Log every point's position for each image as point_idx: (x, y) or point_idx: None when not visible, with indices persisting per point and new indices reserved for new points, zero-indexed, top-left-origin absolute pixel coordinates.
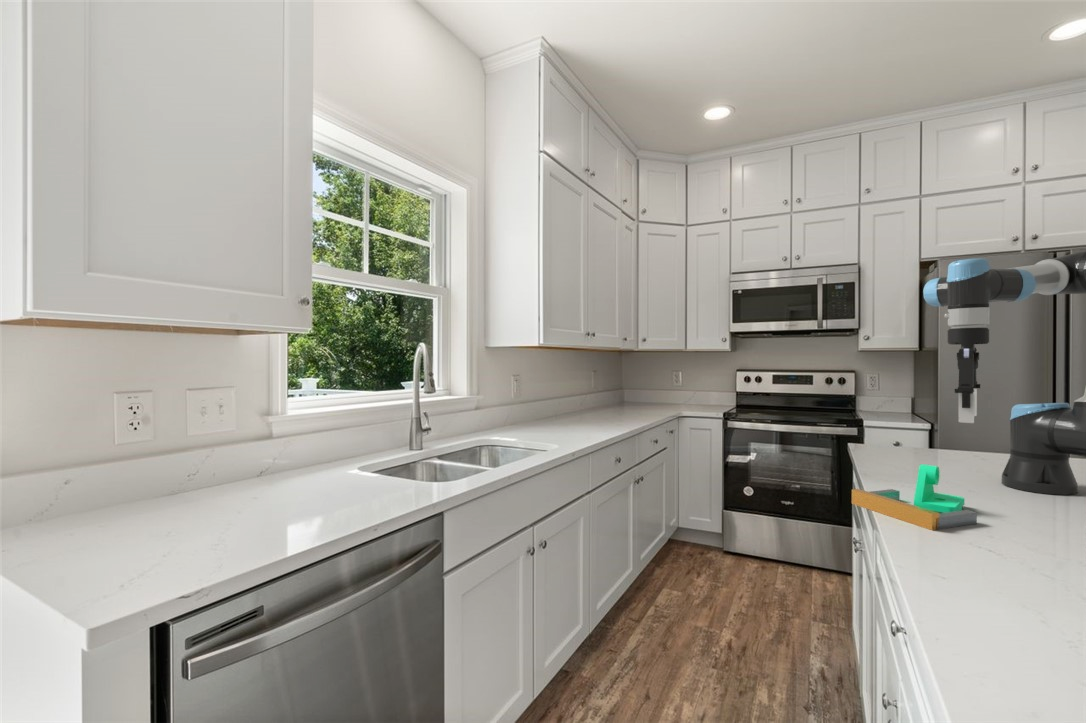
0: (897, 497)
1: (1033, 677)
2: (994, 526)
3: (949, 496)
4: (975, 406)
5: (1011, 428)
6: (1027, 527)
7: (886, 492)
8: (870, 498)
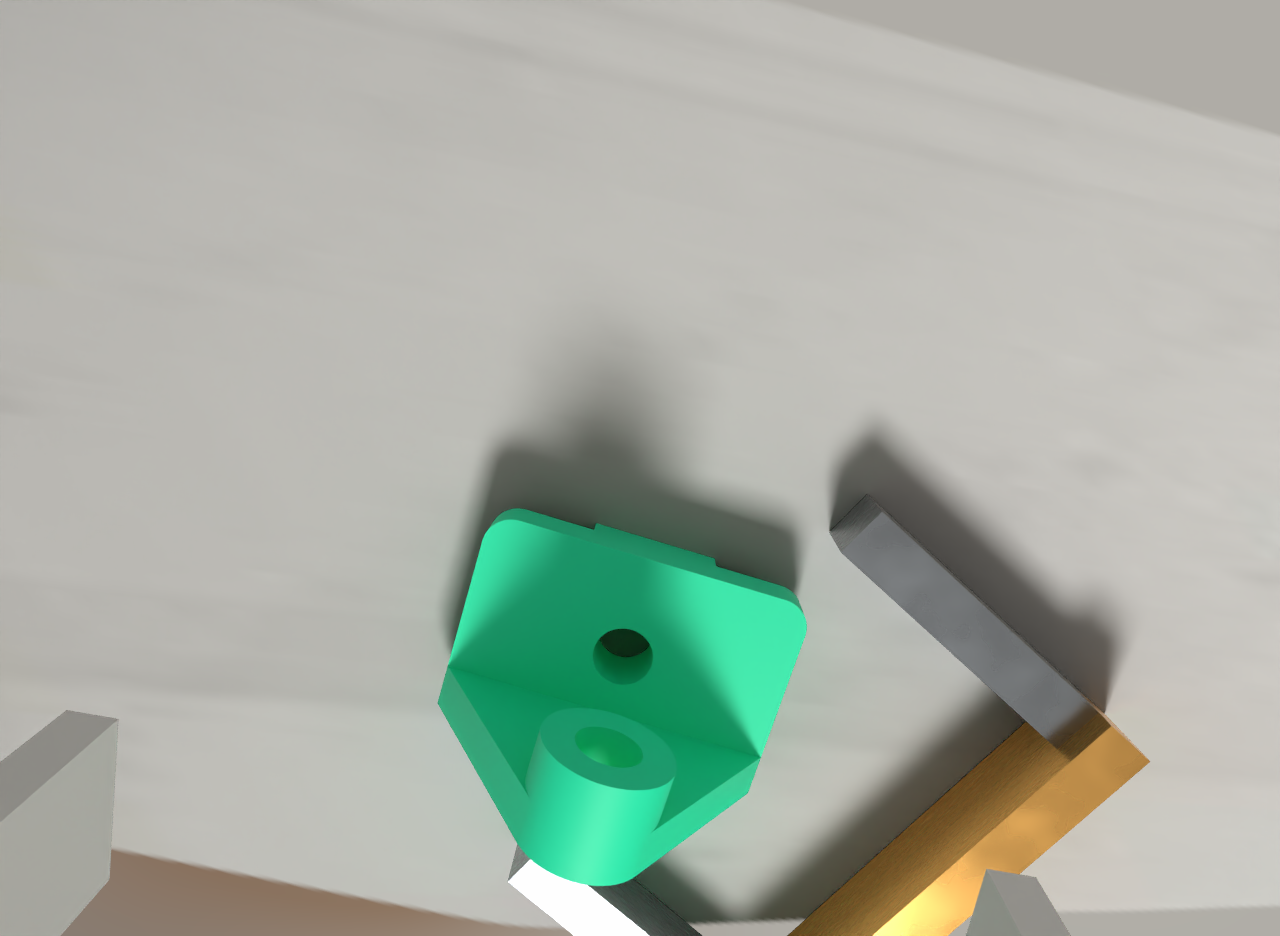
0: None
1: None
2: (872, 414)
3: (514, 596)
4: (7, 827)
5: None
6: (805, 249)
7: (618, 914)
8: None
